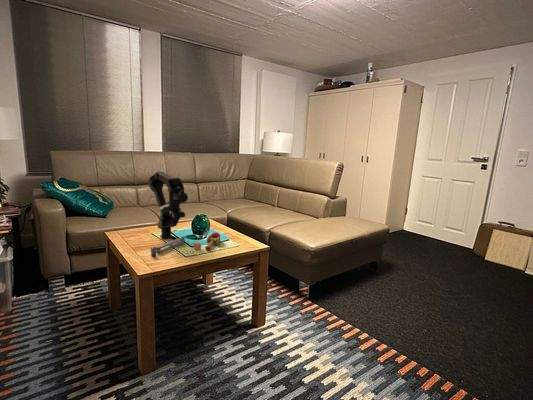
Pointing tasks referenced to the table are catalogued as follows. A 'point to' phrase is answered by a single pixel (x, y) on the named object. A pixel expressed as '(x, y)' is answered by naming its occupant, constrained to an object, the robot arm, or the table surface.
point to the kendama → (212, 240)
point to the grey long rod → (159, 250)
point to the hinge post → (153, 251)
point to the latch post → (197, 246)
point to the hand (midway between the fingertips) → (175, 226)
